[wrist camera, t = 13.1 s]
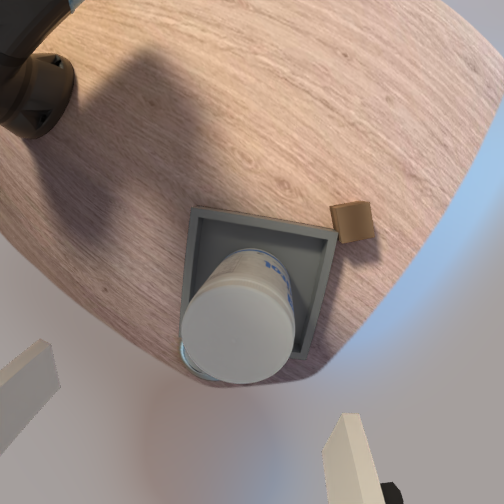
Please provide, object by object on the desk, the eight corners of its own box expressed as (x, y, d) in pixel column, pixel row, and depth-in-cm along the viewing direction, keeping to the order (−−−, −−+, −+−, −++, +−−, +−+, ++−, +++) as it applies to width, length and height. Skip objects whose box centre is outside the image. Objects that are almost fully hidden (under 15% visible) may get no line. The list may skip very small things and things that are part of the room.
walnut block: (335, 237, 35) (342, 243, 31) (329, 206, 35) (336, 208, 31) (364, 231, 35) (374, 237, 31) (359, 200, 34) (369, 202, 30)
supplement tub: (305, 287, 36) (322, 346, 22) (249, 330, 38) (236, 403, 24) (253, 229, 35) (239, 258, 21) (198, 278, 37) (156, 331, 23)
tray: (184, 327, 39) (178, 337, 37) (197, 205, 36) (191, 207, 33) (304, 348, 39) (305, 360, 36) (333, 229, 35) (338, 232, 32)
